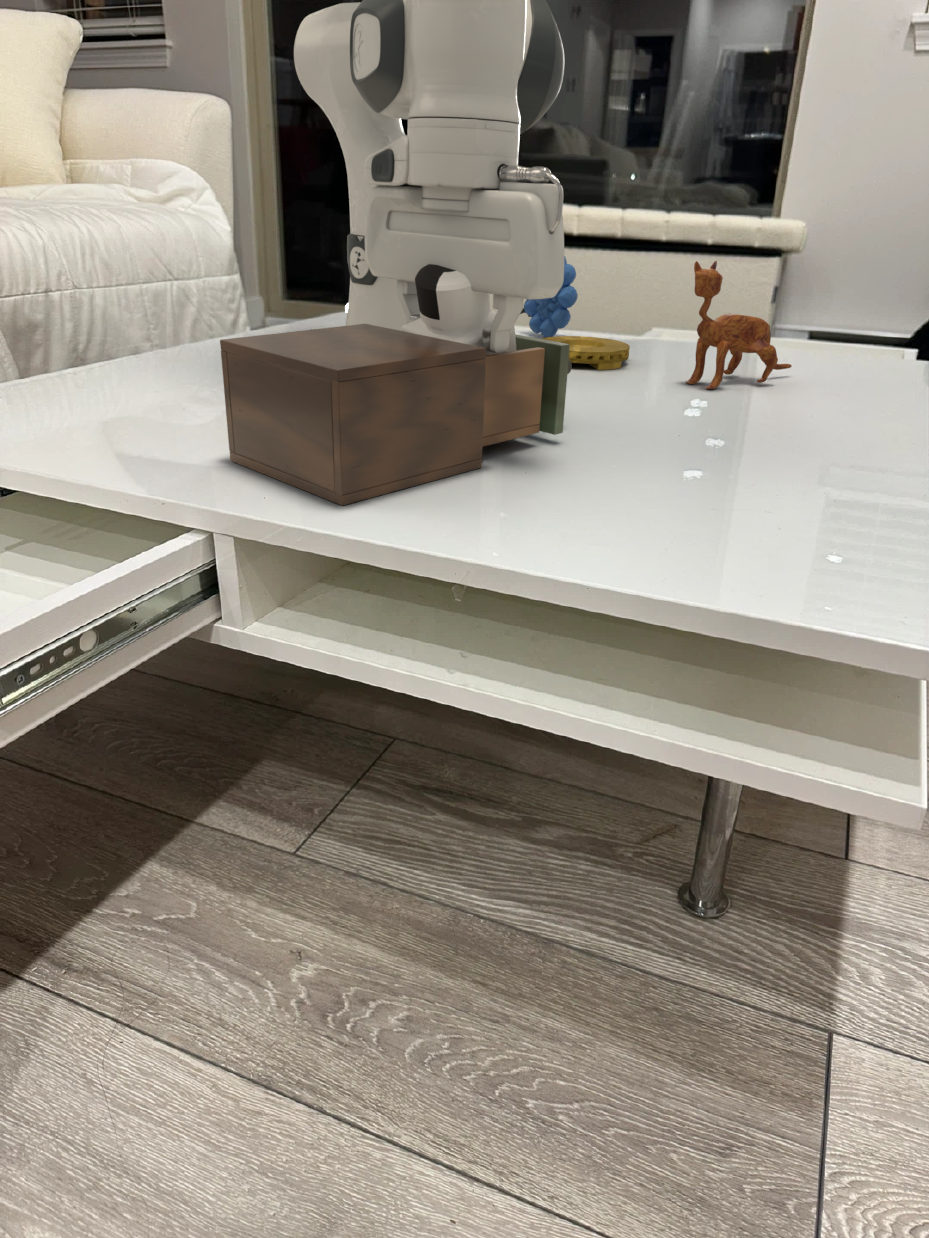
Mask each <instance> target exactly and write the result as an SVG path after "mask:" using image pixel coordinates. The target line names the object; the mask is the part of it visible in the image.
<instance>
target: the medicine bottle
mask: <svg viewBox="0 0 929 1238" xmlns="http://www.w3.org/2000/svg"><path fill="white" fill-rule="evenodd" d="M415 284H416V291H417V297H418V304H419V311H420V317H421V318H419V319H417V320H415V321H412V322H410V323H408V324H406V325H404V326H403V327H402V331H404V332H409V333H414V334H419V335H424V336H429V337H434V338H439V339H444V340H449V341H454V342H459V343H464V344H469V345H474V346H479V347H482V342H483V338H482V331H483V329H488V328H491V325H492V323H493V321H494V318H495V316H496V314H497V312H496V311H493V310H492V303H491V294H489V293H483V292H476V291H473V290H472V289H471V284H470V282H469V280H468V279H467V277H466V276H465V275H464V274H462V273H460V272H458V271H456V270H453V269H449V268H446V267H443V266H439V265H434V264H428V265H426V266H424V267H423V268H421V269H420V270H419V272H418V273H417V275H416V277H415ZM515 327H516V326H515V324H514V325H513V327H512V329H511V330H510V336H509V348H508V350H507V351H506V352H511V351H516V340H515V334H516V328H515ZM504 353H505V352H504ZM492 354H498V353H493V352H488V351H486V355H492Z"/></svg>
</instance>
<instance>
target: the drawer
mask: <svg viewBox="0 0 929 1238" xmlns="http://www.w3.org/2000/svg"><path fill="white" fill-rule="evenodd" d="M515 340H516V351H511V352H505V353H498V354H492V355H486V371H485V395H484V420H483V444H482V448H483V447H487V446H491V445H495V444H499V443H503V442H507V441H511V440H515V439H519V438H523V437H527V436H530V435H534V434H537V433H540V432H542V433H546V434H549V435H554V436H556V435H559V434H562V433H564V421H565V409H566V408H565V407H566V397H567V396H566V395H567V386H568V385H567V383H568V375H569V374H570V372H571V371H572V368H573V367H572V365H573V363H571V361H570V360H569V348H570V345H569V344H565V343H560V342H554V341H549V340H544V339H542V338H538V337H532V336H527V335H521V334H516V333H515Z"/></svg>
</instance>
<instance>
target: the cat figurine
mask: <svg viewBox="0 0 929 1238" xmlns="http://www.w3.org/2000/svg"><path fill="white" fill-rule="evenodd" d="M693 265H694V266H693V272H694V295H695V296H697V297H700V298H703V299H704V300H703V303H702V304H701V306H700V308H699V311H698V315H699V317H700V318H701V319H702V320H701V321H700V323H699V324H698V325H697V328H696V333H697V335H698V337H699V338H698V339H697V341H696V348H695V365H694V369H693V372H692V375H691V376H690V377H689V378H688V379H687V380H685V383H686V384H689V385H695V384H697V383H699V382H700V381H701V379H703V375H704V372H705V365H706V355H707V352H708V350H709V348H710V347H713V348H716V357H715V372H714V376H713V378H712V380H711V382H710V384H708V385H707V386H705V387H704V388H705V389H707V390H715V389H717V388H718V387H719V386H720V385H721V383H722V381H723V378H724V375H728V376H729V375H733V373H734V372H735V370H736V369H737V368H738V366H739V365H740V364H741V362H742V360H743V353H744V354H757V356H758V357H759V359H760V360H761V362H763V363H764V365H765V368H764V370H763V372H762V374H761V377H760V378H757V380H756V383H757V384H759V383H760V384H761V383H765V382H766V381H767V379H768V377H769V376H770V374H771V373H772V372H773V370H775V371H780V370H786V369H791V368H792V364H790V363H778V362H779V358H778V354H777V349H776V347H775V346H774V345H773V344H771V338H772V334H771V333H772V332H771V326H770V324H769V323H768V322H767V321H766V320H764V319H763V318H761V317H757V316H752V315H745V314H739V313H732V312H731V313H724V314H722V315H720V316H718V317H716V318H714V319H712V318H711V317H709V315H708V312H709V309H710V307H711V304H712V301H713V300H712V299H713V298H714V297H716V296H717V295H719V294H720V293H721V289H722V283H723V279H724V278H723V275H722V274H721V273H719V271H718V270H717V266H718V261H717V260H715V261H714V262H713V263H712V264H711V266H710V267H709V268H702V267H701V265H700V263H699V261H697V260H696V261H695V262H694V264H693ZM728 352H729V353H730V354H731V358H730V360H729V362H728V365H727V368H726V369H725V366H726V365H725V364H726V358H727V355H728Z"/></svg>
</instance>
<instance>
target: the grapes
mask: <svg viewBox="0 0 929 1238" xmlns="http://www.w3.org/2000/svg"><path fill="white" fill-rule="evenodd" d="M576 276H577V272H576V268H575V266H573V265H572V264H570V263H568V262H567V258H566V256H565V255H564V280H563V285H562V287H561V288H560V290H559V291H558V293H557V294H556V295H555V296H554V297H553V298H546V299H525V301H524V302H523V308H524V310H525V312H526V313H527V314H526V313H525V314H526V315H527V316H528V315H529V316H532V317H530V319H529V321H528V326H529V328H530V330H531V331H532V333H534V334H541V335H542V337H543V338H547V337H555V335H556V334H558V331H559V330H560V329H565V328H566V326H568V324H569V323H570V321H571V319H572V318H571V316H572V315H571V313H570V310H569V308H572V307H573V306H574V305H575V304H576V303H577V300H578V298H579V297H578V291H577V289H576V288H575V287H574V286H572V284H573V282H574V281H575V279H576Z"/></svg>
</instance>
